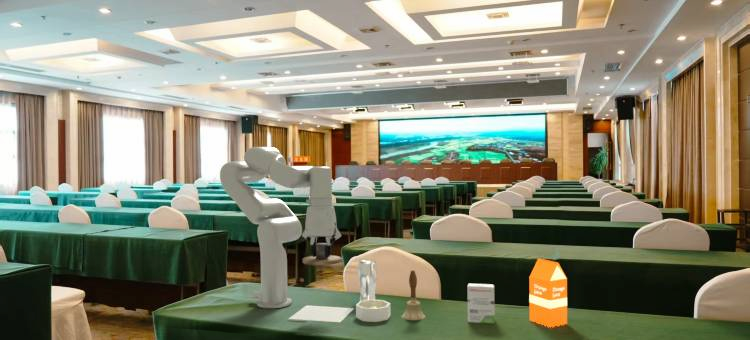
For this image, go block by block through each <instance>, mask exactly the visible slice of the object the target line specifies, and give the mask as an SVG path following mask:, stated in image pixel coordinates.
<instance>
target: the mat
mask: <svg viewBox="0 0 750 340" xmlns="http://www.w3.org/2000/svg"><path fill="white" fill-rule="evenodd" d="M353 310H355V307H354V308H353V307H339V306H325V305H324V306H323V305H322V306H321V305H307V304H306V305H305V306H304V307H302V308H301V309H300V310H298V311H297V312H295V313H294V314H293V315H291V316H290V317H289V318H288V320H287V321H289V322H290V321H293V322H303V323H304V322H305V323H306V322H308V321H313V322H314V321H315V322H316V321H317V322H328V323H329V322H330V323H341V322H342V321H344V319H345V318H347V316H348V315H349V314H350V313H351V312H352V311H353Z"/></svg>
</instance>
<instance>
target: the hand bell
mask: <svg viewBox="0 0 750 340" xmlns="http://www.w3.org/2000/svg"><path fill="white" fill-rule="evenodd" d="M408 283H409V287H410V300H408V301H407V302H406V306H405V307H406V308H405V310H404V312H403V314H402V315H401V318H402V319H404V320H408V321H420V320H424V319H425V318H426V315H425V314H424V313H423V311H422V307H421V302H420V301H418V300H417V295H416V294H417V293H416V291H417V290H416V289H417V285H418V284H417V283H418V278H417V274H416V271H415V270H410V274H409V278H408Z"/></svg>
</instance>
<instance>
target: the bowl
mask: <svg viewBox="0 0 750 340" xmlns="http://www.w3.org/2000/svg"><path fill="white" fill-rule="evenodd" d="M373 306H375V307H377V308H371V307H373ZM391 315H392V314H391V302H388V301H387V300H383V299H376V300H372V299H370V300H365V301H360V300H359V302H357V303H356V304H355V318H356V319H358V320H360V321H362V322H369V323H372V322H373V323H379V322H383V321H388V320H389V319H390V317H391Z"/></svg>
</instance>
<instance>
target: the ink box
mask: <svg viewBox="0 0 750 340" xmlns="http://www.w3.org/2000/svg"><path fill="white" fill-rule="evenodd" d="M466 289H467V293H466V294H467V299H466V300H467V322H468V323H476V324H478V323H479V324H495V323H496V322H495V319H496V318H495V317H496V315H495V313H496V312H495V311H496V310H495V308H496V306H495V285H494V284H490V283H470V282H469V283H468V284H467V288H466Z"/></svg>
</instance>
